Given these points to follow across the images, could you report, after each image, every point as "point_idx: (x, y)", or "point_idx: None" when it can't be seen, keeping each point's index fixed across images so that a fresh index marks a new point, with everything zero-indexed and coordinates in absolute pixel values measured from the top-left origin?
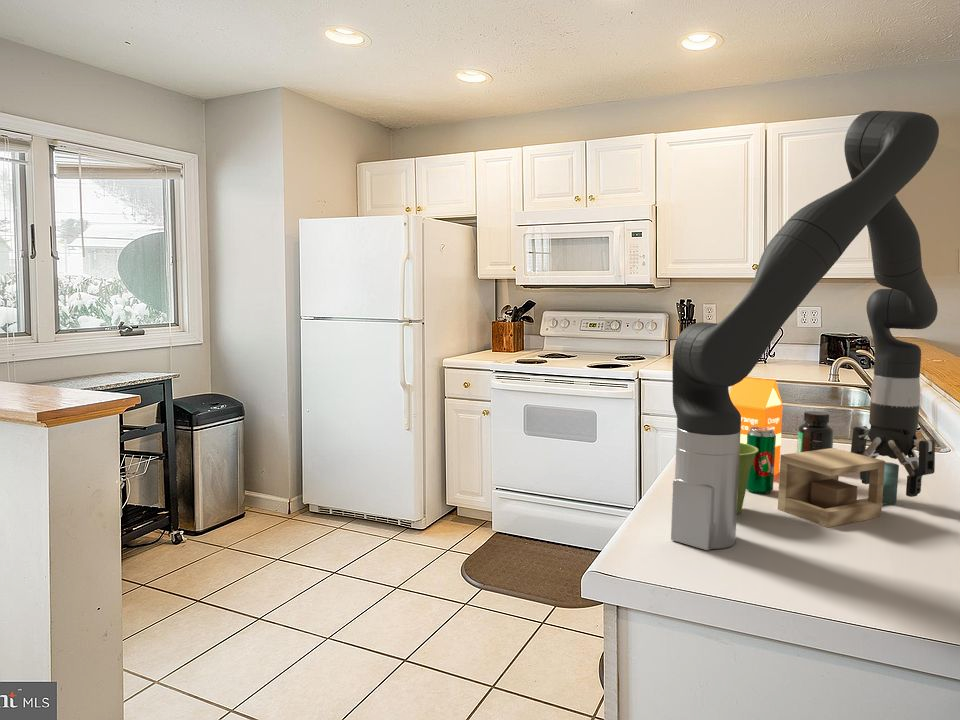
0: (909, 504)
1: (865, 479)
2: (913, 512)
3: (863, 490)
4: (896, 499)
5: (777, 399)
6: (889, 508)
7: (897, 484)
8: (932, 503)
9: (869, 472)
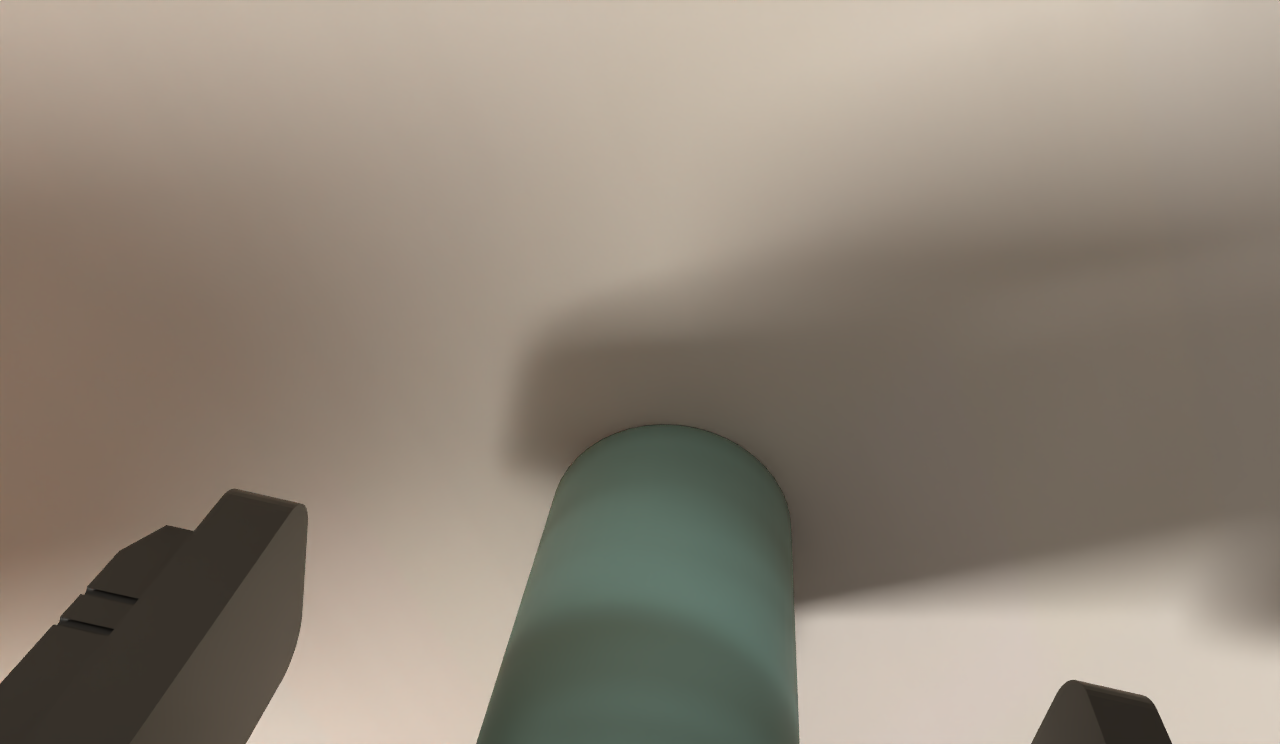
0: (931, 391)
1: (264, 703)
2: None
3: (150, 206)
4: (789, 544)
5: None
6: (810, 735)
7: (798, 732)
8: (1209, 20)
9: (207, 719)
